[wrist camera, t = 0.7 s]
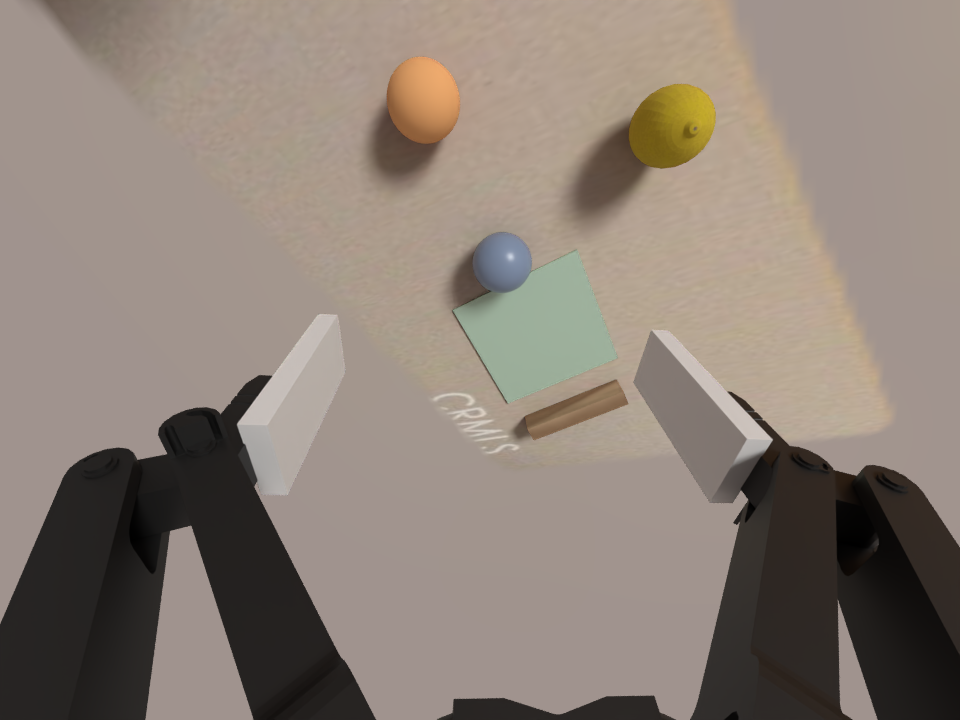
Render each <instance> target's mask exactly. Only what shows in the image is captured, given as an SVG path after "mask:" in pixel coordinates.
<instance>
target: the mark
mask: <svg viewBox="0 0 960 720" xmlns="http://www.w3.org/2000/svg"><path fill="white" fill-rule="evenodd" d="M453 312H454V313H455V315H456V317H457V318H458V320H459V322H460V323H461V325H462V327H463V329H464V330H465V332H466V334H467V335H468V337H469V339H470V340H471V342H472V344H473V345H474V347H475V349H476V350H477V352H478V354H479V356H480V357H481V359H482V361H483V362H484V364H485V366H486V367H487V369H488V371H489V372H490V374H491V376H492V377H493V379H494V381H495V382H496V384H497V386H498V388H499V389H500V391H501V393H502V394H503V396H504V398H505V399H506V401H507V403H510V402H513V401H515V400H518V399H520V398H523V397H525V396H527V395H530V394H532V393H535V392H537V391H539V390H542V389H544V388H547V387H549V386H552V385H554V384H556V383H559V382H561V381H564V380H566V379H568V378H571V377H573V376H576V375H578V374H581V373H583V372H585V371H588V370H590V369H593V368H595V367H597V366H600V365H602V364H605V363H607V362H610V361H612V360H614V359H617V358H618V357H617V354H616V352H615V349H614V346H613V344H612V341H611V338H610V336H609V333H608V330H607V328H606V325H605V322H604V320H603V317H602V314H601V312H600V309H599V306H598V304H597V301H596V298H595V296H594V293H593V290H592V288H591V285H590V282H589V280H588V277H587V274H586V272H585V269H584V266H583V264H582V261H581V259H580V256H579V253H578V251H577V250H575V251H573V252H570V253H568V254H566V255H564V256H562V257H560V258H558V259H556V260H554V261H552V262H550V263H548V264H546V265H544V266H542V267H540V268H538V269H536V270H534V271H531V272H530V274H529V276H528V278H527V280H526V281H525V282H524V283H523V284H522V285H521V286H520V287H519V288H518V289H516V290H514V291H511V292H508V293H496V292H492V291H490V292H488V293H486V294H484V295H482V296H480V297H478V298H476V299H474V300H472V301H470V302H468V303H466V304H464V305H462V306H460V307H458V308H456V309H453Z"/></svg>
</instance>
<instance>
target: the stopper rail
mask: <svg viewBox="0 0 960 720" xmlns="http://www.w3.org/2000/svg"><path fill="white" fill-rule="evenodd" d="M627 404H628V402H627V399H626V397H625V394H624V392H623V390H622V388H621V386H620V385H619V383H618V381H617V380H614V381H612V382H609V383H607V384H604V385H602V386H599V387H597V388H594V389H592V390H589V391H587V392H584V393H582V394H579V395H577V396H574V397H572V398H569V399H567V400H564V401H562V402H559V403H557V404H554V405H552V406H549V407H547V408H544V409H542V410H539V411H537V412H534V413H532V414H529V415H527V416H525V419H526V425H527V430H528V431H529V433H530V435H531V436H532V438H533V440H536V439H539V438H541V437H544V436H547V435H549V434H552V433H554V432H557V431H560V430H562V429H565V428H567V427H570V426H573V425H575V424H578V423H580V422H583V421H586V420H588V419H591V418H593V417H596V416H599V415H601V414H604V413H606V412H609V411H611V410H614V409H617V408H619V407H622V406H624V405H627Z"/></svg>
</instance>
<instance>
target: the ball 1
mask: <svg viewBox="0 0 960 720" xmlns="http://www.w3.org/2000/svg"><path fill="white" fill-rule="evenodd" d="M387 106H388V110H389V113H390V116H391V118H392V121H393V122H394V124H395V126H396V127H397V128H398V130H399V131H400V132H401V133H402V134H403V135H404V136H406V137H407V138H409V139H410V140H412V141H415V142H418V143H423V144H430V143H435V142H438V141H440V140H442V139H443V138H445V137H446V136H447V135H448V134H449V133H450V132H451V131H452V129H453V128H454V126H455V124H456V122H457V119H458V115H459V110H460V98H459V92H458V88H457V85H456V83H455V81H454V79H453V77H452V75H451V74H450V73H449V71H448V70H447V69H446V68H445V67H444V66H443V65H442V64H440V63H439V62H437V61H435V60H433V59H430V58H427V57H414V58H411V59H408V60H406V61H404V62H403V63H402V64H400V65H399V66H398V67H397V68H396V70H395V71H394V72H393V74H392V76H391V78H390V81H389V84H388V88H387Z"/></svg>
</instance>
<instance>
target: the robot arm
mask: <svg viewBox="0 0 960 720" xmlns="http://www.w3.org/2000/svg"><path fill="white" fill-rule="evenodd" d="M344 374H345V365H344V357H343V350H342V342H341V334H340V327H339V320H338V315H328V314H318V316H317V317H316V318H315V320H314V321H313V322H312V323H311V325H310V326H309V328H308V329H307V330H306V332H305V333H304V334H303V336H302V337H301V338H300V340H299V341H298V342H297V344H296V345H295V346H294V348H293V349H292V351H291V352H290V353H289V355H288V356H287V357H286V359H285V360H284V361H283V363H282V364H281V365H280V367H279V368H278V369H277V371H276V372H275V374H274V375H273V376H265V375H259V376H257V377H256V378H254V379H253V380H251V381H249V382H248V383H246V384H245V385H244V386H243V388H242V389H241V390H240V391H239V393H238V394H237V396H235V397H234V399H233V400H232V401H231V404H229V405H228V406H227V407H226V408H225V410H224V411H223V412H222V413H221V415H220V413H219V412H218V411H217V410H215V409H211V408H207V407H205V408H193V409H189V410H185V411H183V412H180V413H178V414H176V415H173V416H172V417H171V418H169V419H168V420H166V421H165V422H164V423H163V424H162V425H161V427H160V428H159V433H158V436H159V438H160V440H161V442H162V444H163V446H164V448H165V450H166V452H167V454H166V455H161V456H156V457H151V458H146V459H140V460H137V458H136V456H135V455H134V453H133V452H131V451H130V450H129V449H125V448H113V449H106V450H102V451H99V452H96V453H93V454H91V455H89V456H87V457H85V458H83V459H81V460H80V461H78V462H77V463H76V464H74V465H73V466H72V467H70V468H69V470H68V471H67V472H66V474H65V475H64V477H63V479H62V482H61V484H60V487H59V489H58V491H57V494H56V496H55V498H54V500H53V503H52V505H51V507H50V510H49V512H48V514H47V516H46V519H45V521H44V524H43V526H42V528H41V531H40V533H39V535H38V538H37V540H36V542H35V545H34V547H33V549H32V551H31V554H30V556H29V558H28V561H27V563H26V565H25V568H24V570H23V573H22V575H21V577H20V579H19V582H18V584H17V586H16V589H15V591H14V594H13V596H12V598H11V600H10V603H9V605H8V607H7V610H6V612H5V614H4V617H3V619H2V621H1V624H0V720H145V718H146V710H147V703H148V695H149V687H150V679H151V672H152V664H153V657H154V649H155V642H156V634H157V626H158V619H159V610H160V603H161V595H162V588H163V580H164V572H165V565H166V557H167V550H168V542H169V534H170V531H171V530H175V529H179V528H183V527H187V526H192V529H193V532H194V535H195V538H196V541H197V544H198V547H199V550H200V554H201V557H202V560H203V563H204V566H205V569H206V572H207V576H208V578H209V582H210V585H211V588H212V591H213V594H214V597H215V600H216V603H217V606H218V609H219V613H220V616H221V619H222V622H223V625H224V628H225V632H226V635H227V638H228V641H229V644H230V647H231V650H232V653H233V656H234V659H235V663H236V666H237V669H238V672H239V675H240V678H241V681H242V685H243V688H244V691H245V694H246V697H247V700H248V703H249V706H250V709H251V712H252V716H253V719H254V720H376V719H375V717H374V715H373V713H372V711H371V709H370V707H369V705H368V703H367V701H366V699H365V697H364V695H363V694H362V692H361V690H360V688H359V686H358V684H357V682H356V680H355V678H354V676H353V674H352V672H351V671H350V669H349V667H348V665H347V664H346V662H345V661H344V660H343V659H342V658H341V657H340V655H339V654H338V652H337V650H336V648H335V646H334V644H333V642H332V640H331V638H330V636H329V634H328V632H327V630H326V628H325V626H324V624H323V622H322V620H321V619H320V616H319V614H318V612H317V610H316V608H315V606H314V605H313V602H312V600H311V598H310V597H309V594H308V592H307V590H306V588H305V587H304V585H303V583H302V581H301V579H300V577H299V575H298V573H297V571H296V569H295V567H294V565H293V563H292V561H291V559H290V557H289V555H288V553H287V551H286V549H285V547H284V545H283V543H282V541H281V539H280V537H279V535H278V533H277V531H276V529H275V527H274V525H273V523H272V521H271V519H270V518H269V516H268V514H267V512H266V510H265V508H264V506H263V504H262V502H261V500H260V498H259V496H258V494H257V492H256V490H255V488H254V486H255V484H256V482H257V484H258V487H259V490H260V493H261V495H288V494H289V492H290V490H291V487H292V485H293V483H294V481H295V479H296V477H297V475H298V472H299V470H300V468H301V466H302V464H303V462H304V459H305V457H306V455H307V453H308V451H309V449H310V447H311V445H312V442H313V440H314V438H315V436H316V434H317V432H318V430H319V427H320V425H321V423H322V421H323V419H324V417H325V414H326V412H327V410H328V408H329V406H330V404H331V402H332V399H333V397H334V395H335V393H336V391H337V389H338V387H339V384H340V382H341V380H342V378H343V376H344ZM633 383H634V384H635V386H636V387H637V389H638V390H639V392H640V394H641V395H642V397H643V398H644V400H645V401H646V403H647V405H648V406H649V408H650V409H651V411H652V412H653V414H654V416H655V417H656V419H657V420H658V422H659V423H660V425H661V427H662V428H663V430H664V431H665V433H666V435H667V436H668V438H669V439H670V441H671V442H672V444H673V446H674V447H675V449H676V450H677V452H678V453H679V455H680V457H681V458H682V460H683V461H684V463H685V464H686V466H687V467H688V469H689V471H690V472H691V474H692V475H693V477H694V479H695V480H696V482H697V483H698V485H699V486H700V488H701V490H702V491H703V493H704V494H705V496H706V497H707V499H708V501H709V502H710V503H733V502H734V500H735V499H736V497H737V495H738V494H739V492H740V491H741V490H742V492H743V493H744V494H745V495H746V497H747V498H748V501H747V503H746V504H745V506H744V507H743V509H742V510H741V512H740V513H739V515H738V516H737V518H736V519H735V521H734V524H736V525H737V524H738V523H739V522H740V524H739V529H738V533H737V537H736V541H735V546H734V550H733V554H732V558H731V562H730V566H729V571H728V575H727V579H726V583H725V588H724V592H723V596H722V601H721V605H720V609H719V613H718V618H717V622H716V626H715V630H714V634H713V639H712V643H711V647H710V652H709V656H708V660H707V665H706V669H705V673H704V677H703V681H702V686H701V690H700V694H699V698H698V702H697V705H696V708H695V711H694V713H693V715H692V717H691V719H690V720H852V719H851V718H849V717H848V716H846V715H844V714H843V713H842V711H841V707H840V693H839V692H840V691H839V647H838V646H839V641H838V601H839V604H840V607H841V610H842V613H843V616H844V619H845V622H846V625H847V628H848V631H849V634H850V637H851V640H852V643H853V646H854V649H855V652H856V655H857V659H858V662H859V664H860V667H861V671H862V673H863V677H864V680H865V683H866V686H867V689H868V692H869V695H870V698H871V700H872V703H873V707H874V710H875V713H876V716H877V719H878V720H960V547H959V546H958V544H957V543H956V541H955V540H954V538H953V537H952V535H951V534H950V532H949V531H948V529H947V528H946V526H945V525H944V523H943V522H942V520H941V519H940V517H939V516H938V514H937V513H936V511H935V510H934V508H933V507H932V505H931V504H930V502H929V501H928V499H927V498H926V496H925V495H924V493H923V492H922V491H921V490H920V489H919V487H918V486H917V485H916V484H914V483H913V482H912V481H910V480H909V479H908V478H907V477H905V476H903V475H902V474H899V473H898V472H896V471H894V470H890V469H887V468H885V467H881V466H876V465H868V466H865V467H864V468H863V469H862V470H861V472H860V473H859V474H858V475H857V476H855V475H851V474H847V473H843V472H839V471H835V470H833V468H832V467H831V466H830V465H829V464H828V462H827V461H825V460H824V459H823V458H821V457H820V456H818V455H817V454H814V453H813V452H811V451H809V450H806V449H803V448H800V447H793V446H789V445H788V444H787V443H786V442H785V441H784V440H783V439H782V438H781V437H780V436H779V435H778V434H777V433H776V432H775V431H774V430H773V429H772V428H771V427H770V426H769V425H768V424H767V423H766V421H763V420H762V419H763V418H762V417H761V416H760V415H759V414H758V413H757V412H754V411H755V410H754V409H753V408H752V407H751V406H750V405H749V404H748V403H747V402H746V401H745V400H743V399H742V398H740V397H738V396H737V395H735V394H734V393H732V392H727V391H726V390H725V389H724V388H723V387H722V386H721V385H720V384H719V383H718V382H717V381H716V380H715V379H714V378H713V377H712V376H711V375H710V373H709V372H708V371H707V370H706V369H705V368H704V367H703V366H702V365H701V364H700V363H699V362H698V361H697V360H696V359H695V358H694V357H693V356H692V355H691V354H690V353H689V351H688V350H687V349H686V348H685V347H684V346H683V345H682V344H681V343H680V342H679V341H678V340H677V339H676V338H675V337H674V336H673V335H672V334H671V333H670V332H669V331H666V330H651V332H650V335H649V338H648V341H647V344H646V347H645V350H644V353H643V356H642V359H641V362H640V364H639V367H638V370H637V373H636V376H635V379H634V382H633ZM878 544H879V545H878ZM437 720H675V719H673V718H671V717H669V716H667V715H665V714H662V713H660V712H659V709H658V706H657V703H656V700H655V697H654V696H607V697H604V698H601V699H599V700H596V701H594V702H591V703H589V704H586V705H584V706H581V707H579V708H576V709H574V710H571V711H569V712H566V713H564V714H560V715H556V714H552V713H549V712H546V711H543V710H539V709H536V708H533V707H530V706H527V705H524V704H521V703H517V702H514V701H511V700H508V699H505V698H490V699H489V698H488V699H454V702H453V713H451V714H449V715H446V716H444V717H441V718H439V719H437Z"/></svg>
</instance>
